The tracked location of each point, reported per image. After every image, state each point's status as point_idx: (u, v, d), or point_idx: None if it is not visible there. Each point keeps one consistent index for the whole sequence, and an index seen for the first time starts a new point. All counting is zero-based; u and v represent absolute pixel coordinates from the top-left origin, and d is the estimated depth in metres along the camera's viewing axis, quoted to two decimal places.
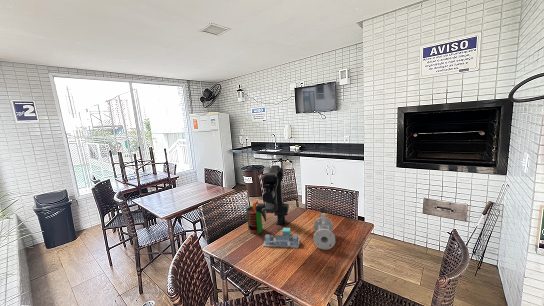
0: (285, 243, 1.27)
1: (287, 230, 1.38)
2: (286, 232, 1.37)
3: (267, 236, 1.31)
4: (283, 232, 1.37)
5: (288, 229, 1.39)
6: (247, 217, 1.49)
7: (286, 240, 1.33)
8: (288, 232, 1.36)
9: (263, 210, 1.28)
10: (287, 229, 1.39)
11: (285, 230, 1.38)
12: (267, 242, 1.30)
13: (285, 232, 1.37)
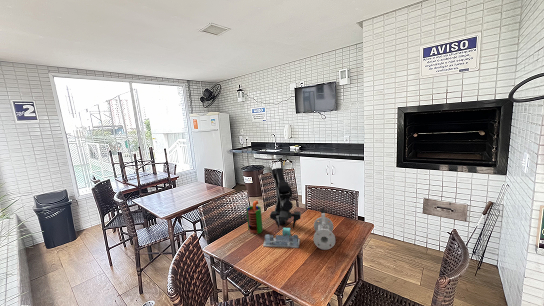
0: (285, 243, 1.27)
1: (287, 230, 1.38)
2: (286, 232, 1.37)
3: (267, 236, 1.31)
4: (283, 232, 1.37)
5: (288, 229, 1.39)
6: (247, 217, 1.49)
7: (286, 240, 1.33)
8: (288, 232, 1.36)
9: (277, 217, 1.38)
10: (287, 229, 1.39)
11: (285, 230, 1.38)
12: (267, 242, 1.30)
13: (285, 232, 1.37)
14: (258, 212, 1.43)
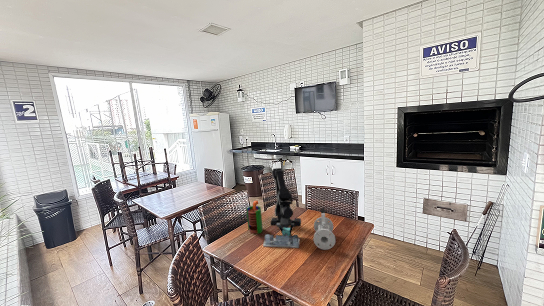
0: (285, 243, 1.27)
1: (287, 230, 1.38)
2: (286, 232, 1.37)
3: (267, 236, 1.31)
4: (283, 232, 1.37)
5: (288, 229, 1.39)
6: (247, 217, 1.49)
7: (286, 240, 1.33)
8: (288, 232, 1.36)
9: None
10: (287, 228, 1.39)
11: (285, 230, 1.38)
12: (267, 242, 1.30)
13: (285, 232, 1.37)
14: (258, 212, 1.43)
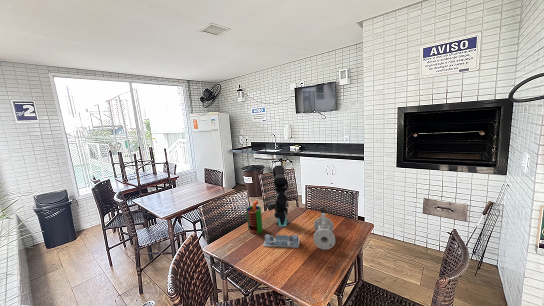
0: (285, 243, 1.27)
1: None
2: (278, 218, 1.32)
3: (267, 236, 1.31)
4: None
5: None
6: (247, 217, 1.49)
7: (286, 240, 1.33)
8: (278, 219, 1.31)
9: None
10: None
11: None
12: (267, 242, 1.30)
13: (278, 218, 1.33)
14: (258, 212, 1.43)
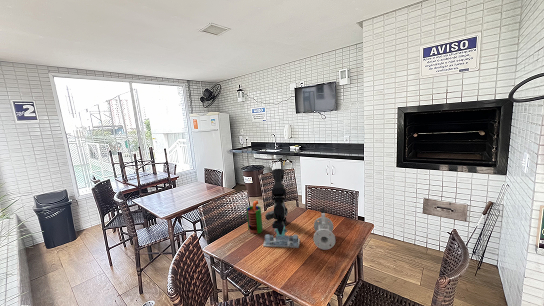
0: (285, 243, 1.27)
1: None
2: None
3: (267, 236, 1.31)
4: None
5: None
6: (247, 217, 1.49)
7: (286, 240, 1.33)
8: (276, 229, 1.29)
9: None
10: None
11: None
12: (267, 242, 1.30)
13: None
14: (258, 212, 1.43)
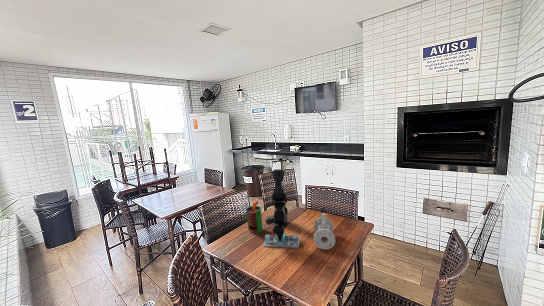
0: (285, 243, 1.27)
1: None
2: None
3: (267, 236, 1.31)
4: None
5: None
6: (247, 217, 1.49)
7: (286, 240, 1.33)
8: None
9: None
10: None
11: None
12: (267, 242, 1.30)
13: None
14: (258, 212, 1.43)
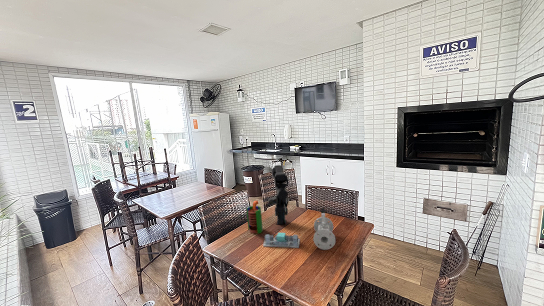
0: (285, 243, 1.27)
1: (279, 235, 1.30)
2: (277, 235, 1.31)
3: (267, 236, 1.31)
4: None
5: (281, 235, 1.30)
6: (247, 217, 1.49)
7: (286, 240, 1.33)
8: (277, 236, 1.30)
9: None
10: (281, 235, 1.30)
11: (279, 234, 1.31)
12: (267, 242, 1.30)
13: None
14: (258, 212, 1.43)
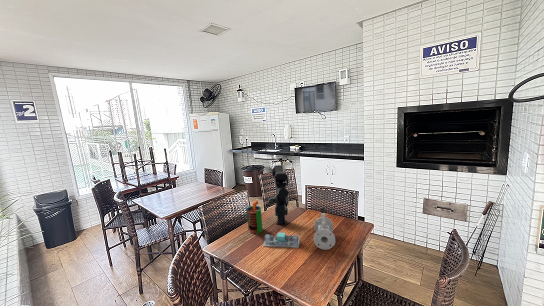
0: (285, 243, 1.27)
1: (279, 235, 1.30)
2: (277, 235, 1.31)
3: (267, 236, 1.31)
4: None
5: (281, 235, 1.30)
6: (247, 217, 1.49)
7: (286, 240, 1.33)
8: (277, 236, 1.30)
9: None
10: (281, 235, 1.30)
11: (279, 234, 1.31)
12: (267, 242, 1.30)
13: None
14: (258, 212, 1.43)
